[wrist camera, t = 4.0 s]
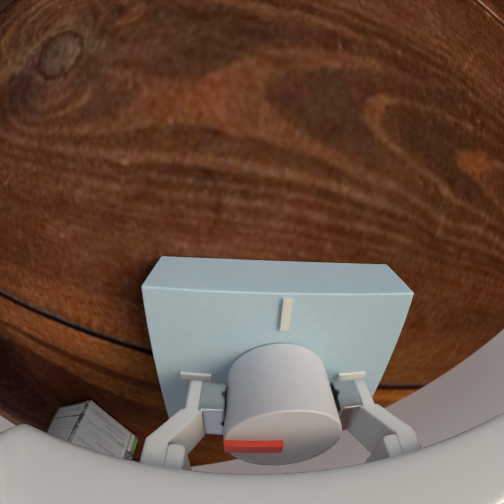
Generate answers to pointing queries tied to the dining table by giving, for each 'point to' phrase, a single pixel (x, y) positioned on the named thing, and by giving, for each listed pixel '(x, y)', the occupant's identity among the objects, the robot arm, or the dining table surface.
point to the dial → (279, 406)
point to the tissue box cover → (4, 4)
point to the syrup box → (92, 430)
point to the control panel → (269, 317)
